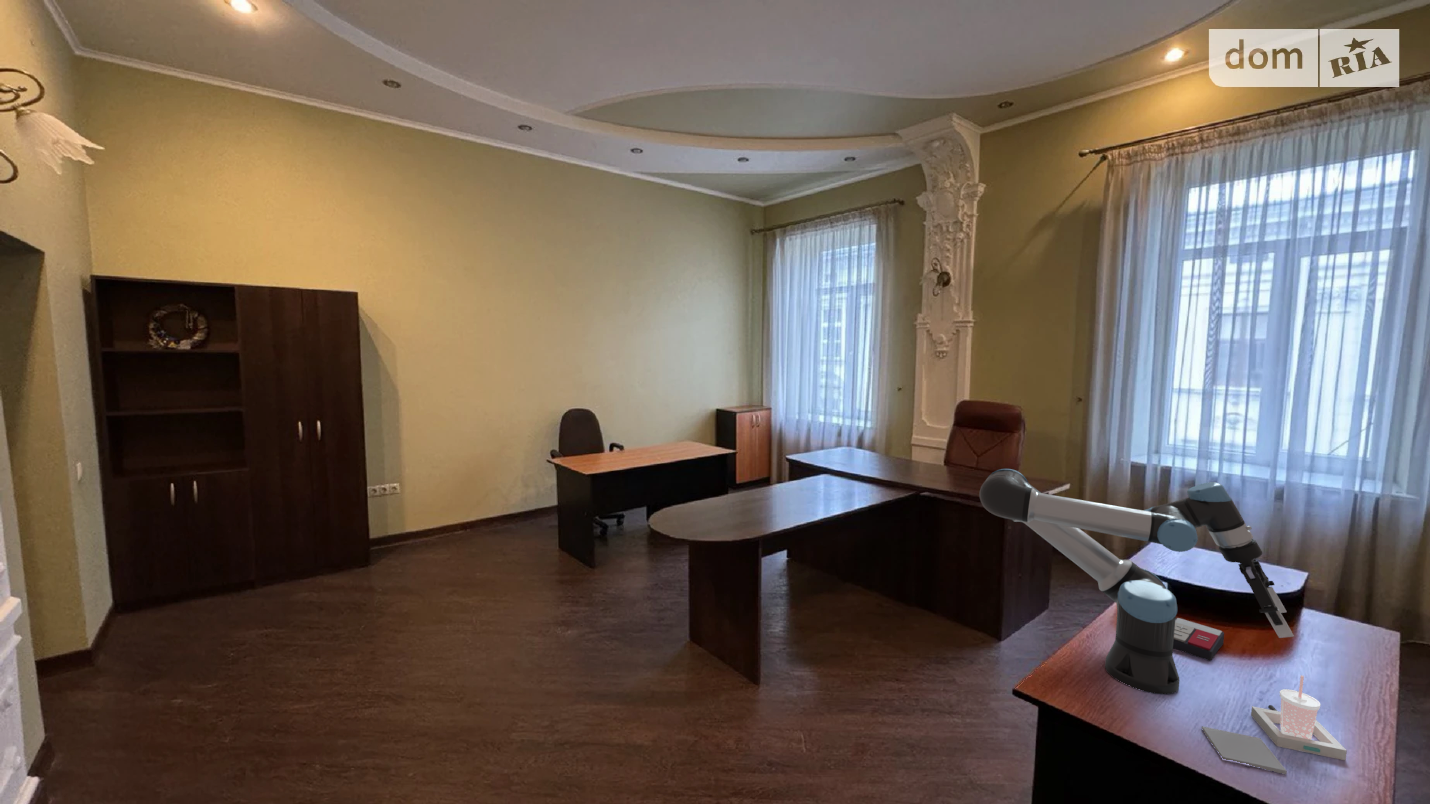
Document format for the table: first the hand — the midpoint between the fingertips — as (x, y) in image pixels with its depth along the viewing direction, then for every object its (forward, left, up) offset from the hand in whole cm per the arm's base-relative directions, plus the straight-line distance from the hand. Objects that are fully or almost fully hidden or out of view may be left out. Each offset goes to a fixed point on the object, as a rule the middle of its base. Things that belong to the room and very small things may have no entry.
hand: (1282, 624), depth 137 cm
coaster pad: (-19, -32, -16) cm, 40 cm away
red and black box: (-11, +18, -17) cm, 27 cm away
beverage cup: (-6, -22, -17) cm, 28 cm away
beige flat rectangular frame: (-6, -19, -16) cm, 26 cm away
